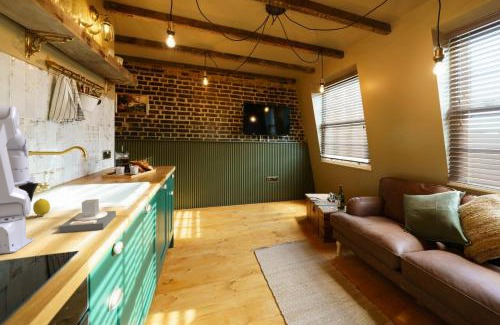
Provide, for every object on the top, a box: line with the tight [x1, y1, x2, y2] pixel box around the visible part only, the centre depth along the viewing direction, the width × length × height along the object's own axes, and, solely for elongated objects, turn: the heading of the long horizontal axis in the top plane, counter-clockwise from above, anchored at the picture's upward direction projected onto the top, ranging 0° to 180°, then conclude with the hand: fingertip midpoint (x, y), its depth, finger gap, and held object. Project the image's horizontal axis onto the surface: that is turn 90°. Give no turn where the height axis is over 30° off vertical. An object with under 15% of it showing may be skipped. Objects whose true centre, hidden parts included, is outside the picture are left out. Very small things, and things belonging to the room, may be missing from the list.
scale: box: [59, 210, 117, 234], centre depth 93 cm, size 16×14×3 cm
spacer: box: [81, 198, 100, 217], centre depth 94 cm, size 4×4×6 cm
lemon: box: [32, 198, 51, 217], centre depth 101 cm, size 6×6×8 cm
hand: (21, 204), depth 86 cm, fingers open, 7 cm apart
